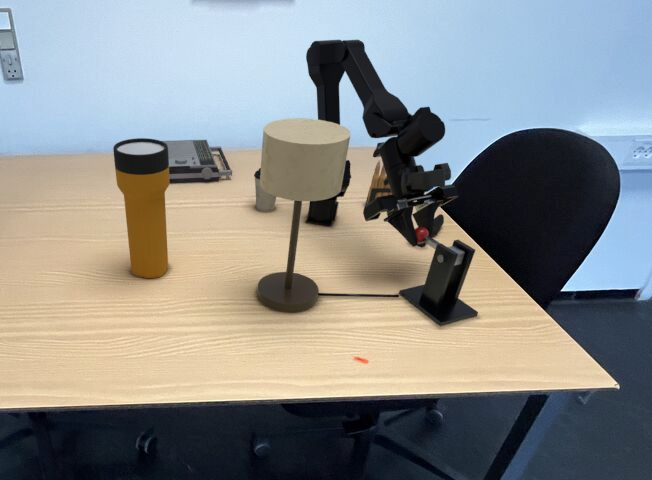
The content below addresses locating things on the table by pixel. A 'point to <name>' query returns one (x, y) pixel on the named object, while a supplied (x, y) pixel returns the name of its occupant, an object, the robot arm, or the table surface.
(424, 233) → the lever
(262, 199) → the coffee cup
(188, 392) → the table surface
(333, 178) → the desk lamp
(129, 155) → the flashlight
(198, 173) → the radio
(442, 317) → the switch bracket
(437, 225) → the electric trimmer
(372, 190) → the ammunition clip
